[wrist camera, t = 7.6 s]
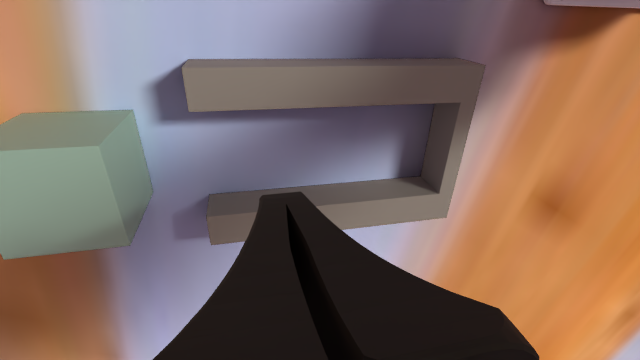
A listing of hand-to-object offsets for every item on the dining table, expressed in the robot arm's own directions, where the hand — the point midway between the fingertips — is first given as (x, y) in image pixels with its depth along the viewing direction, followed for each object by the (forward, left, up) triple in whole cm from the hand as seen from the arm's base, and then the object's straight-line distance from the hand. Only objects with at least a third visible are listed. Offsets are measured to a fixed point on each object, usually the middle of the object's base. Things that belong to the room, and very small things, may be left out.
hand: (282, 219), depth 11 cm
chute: (-3, +2, -10) cm, 11 cm away
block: (+9, +2, -10) cm, 14 cm away
